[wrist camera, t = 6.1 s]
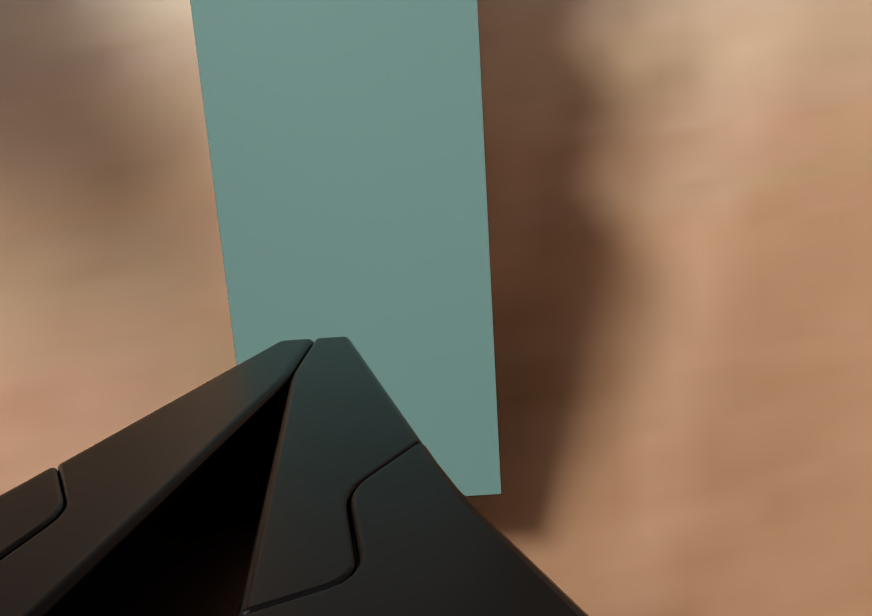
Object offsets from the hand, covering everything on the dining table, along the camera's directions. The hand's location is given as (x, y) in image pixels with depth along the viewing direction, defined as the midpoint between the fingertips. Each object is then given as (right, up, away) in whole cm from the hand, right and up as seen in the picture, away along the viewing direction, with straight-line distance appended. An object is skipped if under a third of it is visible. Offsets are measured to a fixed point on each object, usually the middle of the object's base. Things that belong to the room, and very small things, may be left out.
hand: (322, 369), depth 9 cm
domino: (0, -3, +6) cm, 7 cm away
